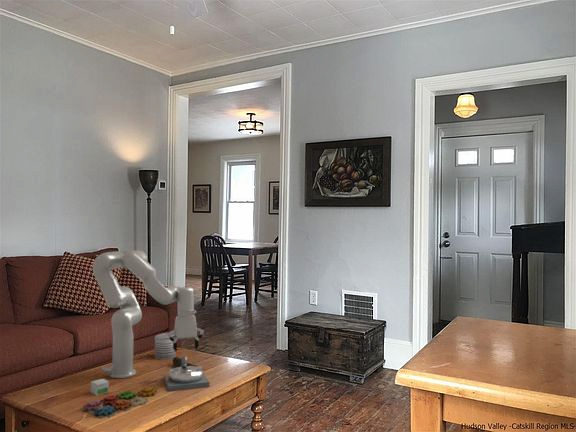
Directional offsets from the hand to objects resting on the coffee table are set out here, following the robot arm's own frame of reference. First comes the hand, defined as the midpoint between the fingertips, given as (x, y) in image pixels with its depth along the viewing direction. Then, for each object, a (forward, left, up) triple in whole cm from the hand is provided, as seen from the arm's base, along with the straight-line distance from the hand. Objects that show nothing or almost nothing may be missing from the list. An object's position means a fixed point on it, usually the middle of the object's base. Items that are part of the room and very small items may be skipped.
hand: (185, 349), depth 221 cm
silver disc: (-1, -5, -11) cm, 13 cm away
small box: (-38, -6, -14) cm, 41 cm away
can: (-5, +41, -14) cm, 43 cm away
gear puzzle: (-28, -22, -14) cm, 38 cm away
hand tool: (+1, +16, -14) cm, 21 cm away
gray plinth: (-1, -5, -14) cm, 15 cm away
